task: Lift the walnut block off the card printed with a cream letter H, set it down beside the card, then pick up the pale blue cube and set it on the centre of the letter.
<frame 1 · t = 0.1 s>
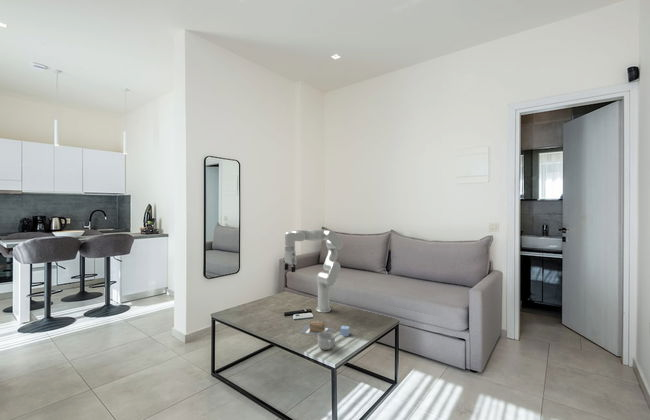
hand: (289, 270, 235), 37 cm above the table, tool pointing down, fingers open, 9 cm apart
teacup: (326, 349, 189), on the table
walnut block: (317, 330, 216), resting on letter card
letter card: (317, 330, 216), on the table
blue cube: (345, 334, 210), on the table
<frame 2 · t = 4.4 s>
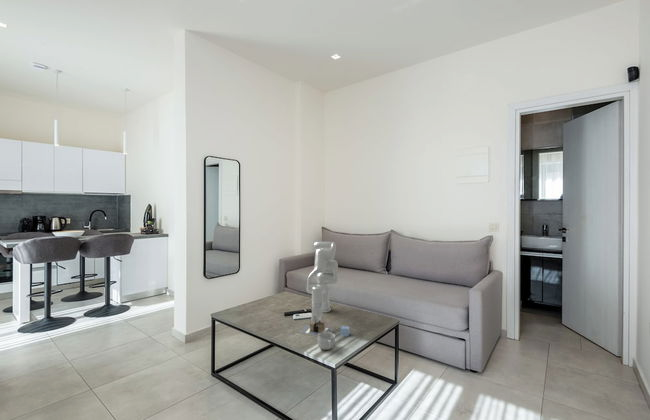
hand: (317, 329, 216), 1 cm above the table, tool pointing down, fingers closed on walnut block, 5 cm apart
walnut block: (317, 330, 216), resting on letter card, touching gripper
everything else where it was.
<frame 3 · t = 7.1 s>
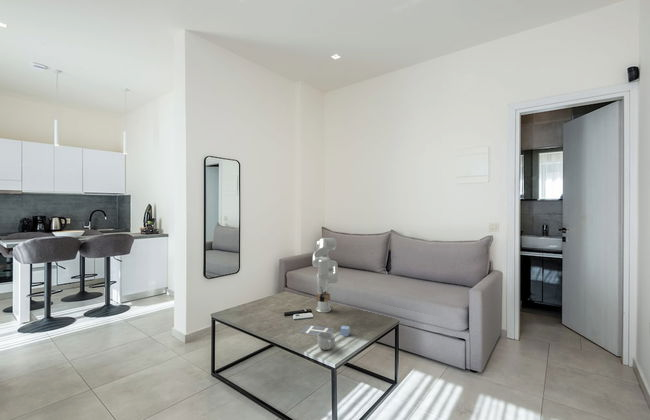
hand: (323, 300, 228), 17 cm above the table, tool pointing down, fingers closed on walnut block, 5 cm apart
walnut block: (323, 300, 228), point 17 cm above the table, touching gripper
everything else where it was.
when the fingers open (2 cm above the table, at t = 10.3 s): walnut block drops 2 cm, on the table.
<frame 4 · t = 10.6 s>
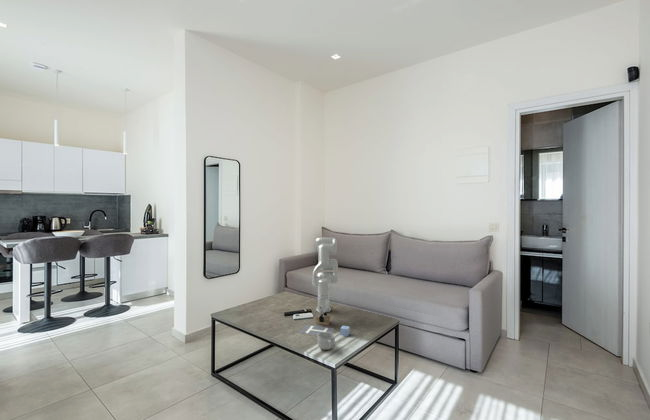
hand: (323, 319, 229), 2 cm above the table, tool pointing down, fingers open, 7 cm apart
walnut block: (323, 323, 229), on the table
everything else where it was.
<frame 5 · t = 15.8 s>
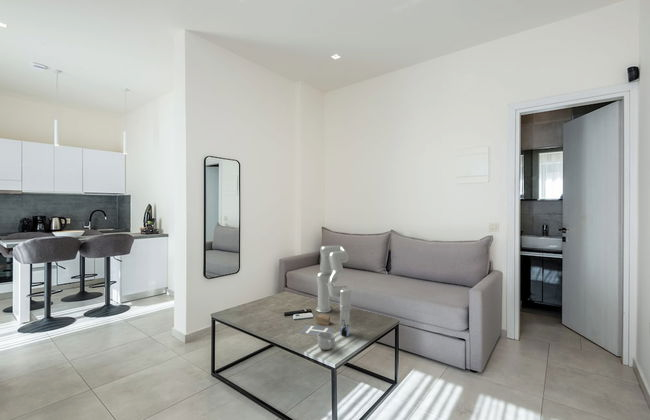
hand: (345, 333, 210), 1 cm above the table, tool pointing down, fingers closed on blue cube, 5 cm apart
blue cube: (345, 334, 210), on the table, touching gripper
everything else where it was.
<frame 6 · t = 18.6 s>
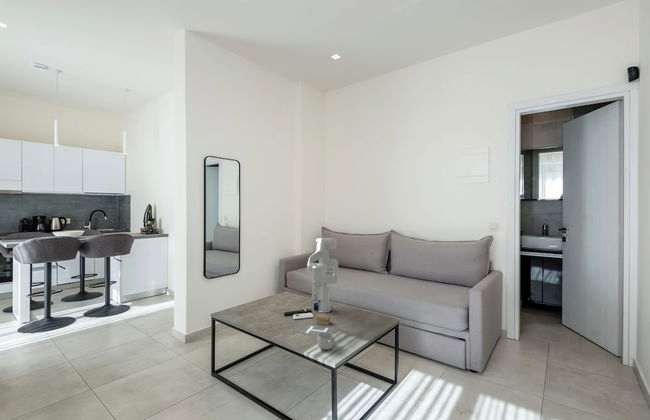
hand: (317, 309, 215), 15 cm above the table, tool pointing down, fingers closed on blue cube, 5 cm apart
blue cube: (317, 309, 215), point 15 cm above the table, touching gripper
everything else where it was.
when the fingers open (2 cm above the table, at t = 21.6 s): blue cube drops 1 cm, resting on letter card.
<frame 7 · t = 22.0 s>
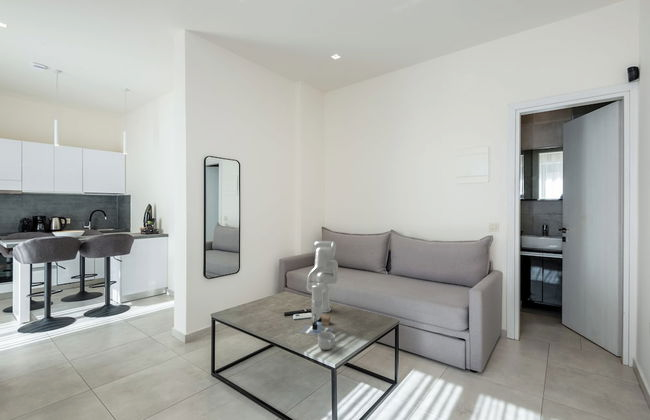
hand: (317, 326, 215), 3 cm above the table, tool pointing down, fingers open, 9 cm apart
blue cube: (317, 330, 216), resting on letter card
everything else where it was.
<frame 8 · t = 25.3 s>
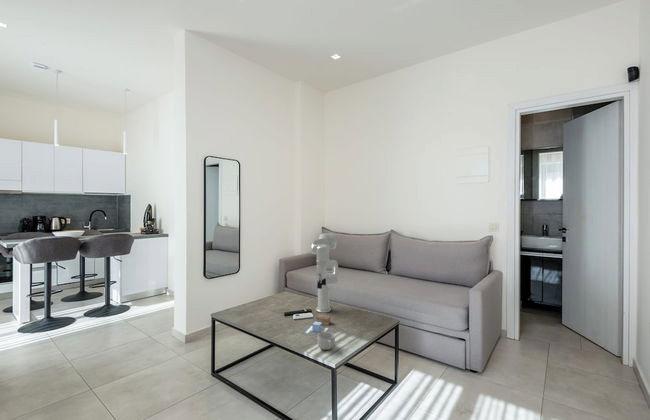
hand: (321, 286, 224), 28 cm above the table, tool pointing down, fingers open, 9 cm apart
nothing on the table moved.
at the end: walnut block touching table; blue cube 0.0 cm off-centre on the letter card, point 0.2 cm above the letter card's base; blue cube tilted 0° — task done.
